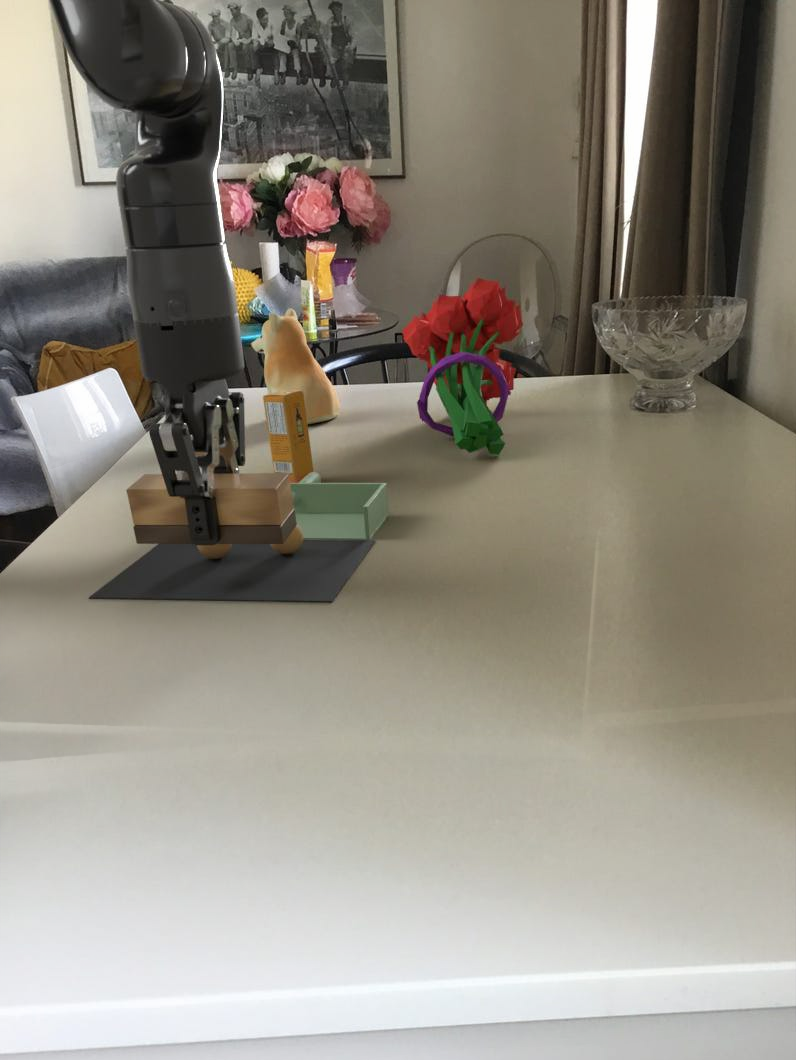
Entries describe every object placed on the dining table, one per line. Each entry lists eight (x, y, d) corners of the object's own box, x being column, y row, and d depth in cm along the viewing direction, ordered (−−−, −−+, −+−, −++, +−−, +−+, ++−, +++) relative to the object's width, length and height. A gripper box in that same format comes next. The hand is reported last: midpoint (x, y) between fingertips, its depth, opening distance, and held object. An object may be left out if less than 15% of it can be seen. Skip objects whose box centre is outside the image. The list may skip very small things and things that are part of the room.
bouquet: (419, 511, 127) (405, 412, 152) (554, 503, 129) (518, 406, 153) (412, 353, 116) (398, 273, 140) (560, 345, 117) (520, 268, 142)
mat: (89, 600, 84) (88, 597, 84) (165, 541, 98) (165, 538, 98) (332, 604, 82) (331, 601, 82) (375, 543, 96) (375, 540, 96)
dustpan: (369, 541, 96) (367, 506, 95) (174, 539, 99) (168, 505, 97) (403, 494, 111) (401, 463, 110) (232, 494, 114) (228, 463, 112)
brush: (136, 544, 83) (124, 490, 81) (156, 525, 87) (145, 473, 85) (283, 544, 82) (275, 489, 80) (297, 525, 85) (289, 472, 83)
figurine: (243, 419, 152) (230, 311, 146) (317, 406, 159) (308, 303, 153) (286, 431, 143) (274, 316, 137) (363, 417, 151) (354, 308, 145)
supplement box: (291, 477, 119) (281, 388, 115) (315, 480, 118) (306, 390, 114) (272, 484, 117) (261, 393, 113) (296, 487, 115) (286, 395, 111)
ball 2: (266, 558, 92) (262, 525, 91) (276, 547, 95) (272, 515, 93) (299, 558, 91) (295, 525, 90) (308, 548, 94) (305, 515, 93)
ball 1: (193, 563, 91) (188, 530, 90) (206, 552, 94) (201, 520, 93) (227, 563, 91) (222, 530, 90) (238, 552, 94) (234, 520, 92)
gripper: (174, 303, 84) (204, 510, 91) (93, 324, 71) (134, 563, 78) (264, 300, 83) (288, 509, 90) (198, 321, 70) (232, 564, 77)
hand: (217, 533), depth 84 cm, fingers closed on brush, 4 cm apart
